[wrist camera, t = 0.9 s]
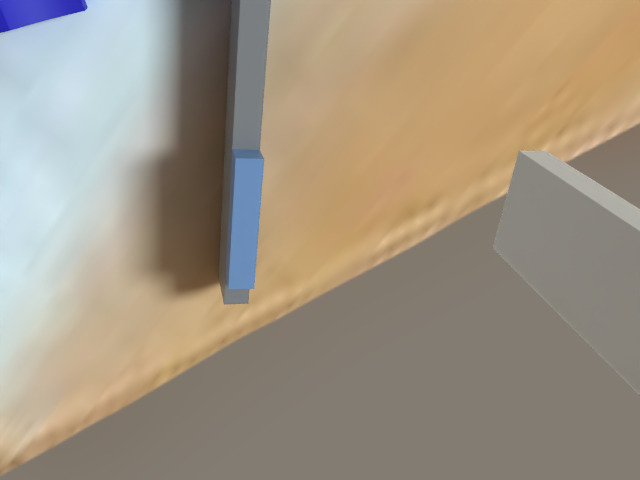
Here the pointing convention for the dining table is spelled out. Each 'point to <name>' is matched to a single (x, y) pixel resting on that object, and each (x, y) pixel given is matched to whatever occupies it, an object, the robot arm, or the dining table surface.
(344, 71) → the dining table surface
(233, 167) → the blue grey block group
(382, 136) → the dining table surface
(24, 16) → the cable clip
